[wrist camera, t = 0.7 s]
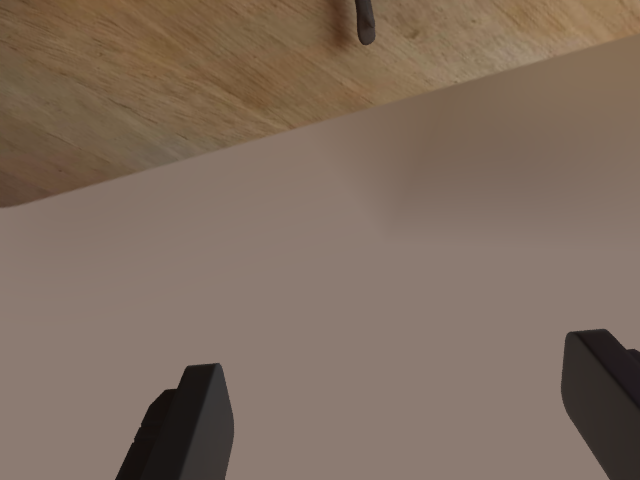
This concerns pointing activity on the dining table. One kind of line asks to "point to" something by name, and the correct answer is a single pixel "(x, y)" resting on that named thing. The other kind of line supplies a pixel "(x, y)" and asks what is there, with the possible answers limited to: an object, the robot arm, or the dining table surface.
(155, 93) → the dining table surface
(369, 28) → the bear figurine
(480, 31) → the dining table surface
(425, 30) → the dining table surface
